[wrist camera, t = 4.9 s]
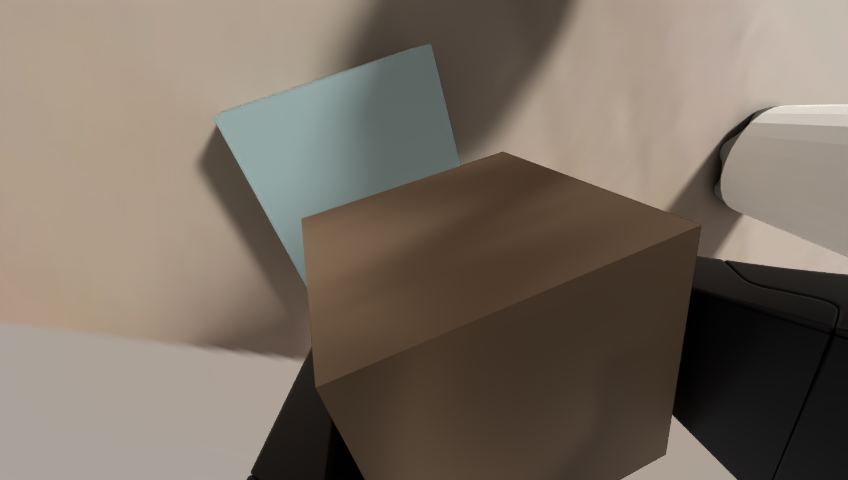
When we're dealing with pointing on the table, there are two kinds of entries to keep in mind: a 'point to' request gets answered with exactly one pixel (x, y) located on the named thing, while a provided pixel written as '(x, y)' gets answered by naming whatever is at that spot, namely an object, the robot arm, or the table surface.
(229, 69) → the table surface
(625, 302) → the walnut cube
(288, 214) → the base block
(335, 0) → the table surface
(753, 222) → the table surface
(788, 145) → the cup
